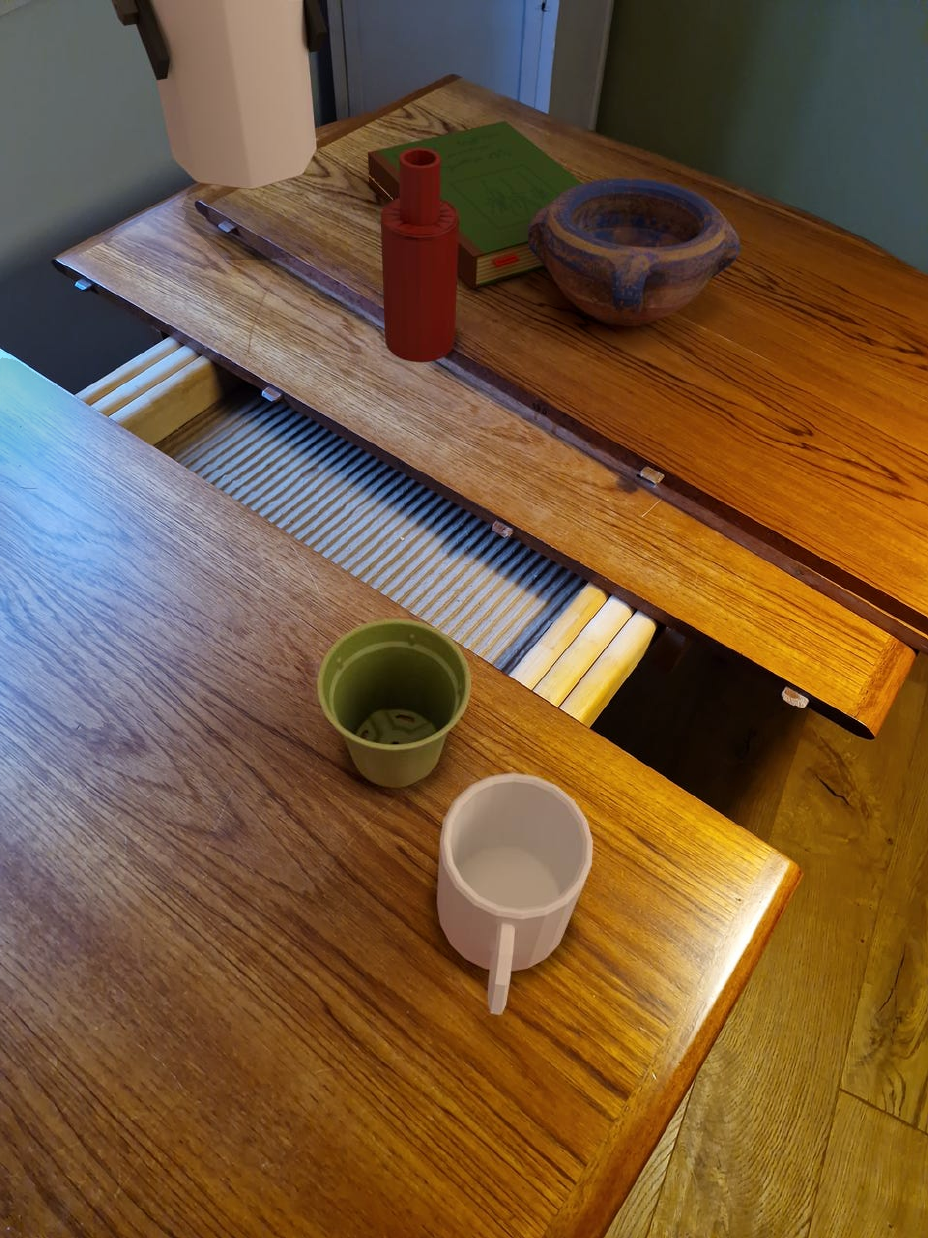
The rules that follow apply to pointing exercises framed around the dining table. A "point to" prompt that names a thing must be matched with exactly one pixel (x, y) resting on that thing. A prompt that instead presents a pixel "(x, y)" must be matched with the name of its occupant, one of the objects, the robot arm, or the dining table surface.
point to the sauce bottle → (419, 262)
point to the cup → (237, 89)
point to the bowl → (632, 247)
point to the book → (485, 195)
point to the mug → (510, 874)
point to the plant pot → (394, 696)
